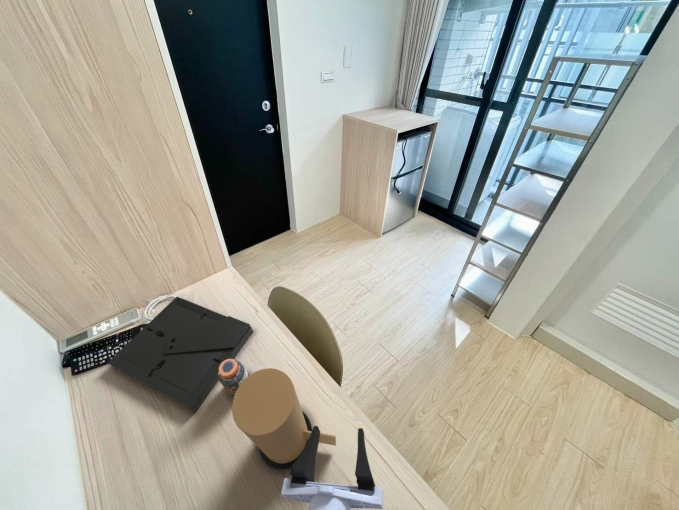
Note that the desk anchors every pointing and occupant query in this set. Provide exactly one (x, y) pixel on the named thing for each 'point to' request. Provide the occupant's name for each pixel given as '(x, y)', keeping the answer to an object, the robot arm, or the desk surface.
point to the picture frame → (183, 351)
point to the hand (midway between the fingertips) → (338, 429)
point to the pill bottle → (232, 375)
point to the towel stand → (288, 465)
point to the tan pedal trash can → (273, 415)
